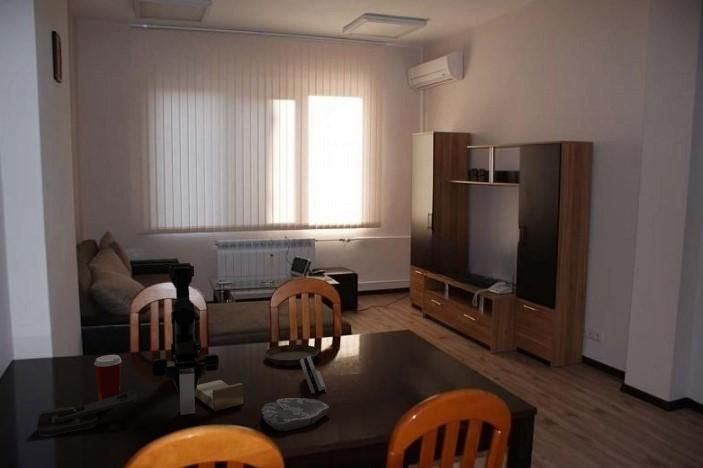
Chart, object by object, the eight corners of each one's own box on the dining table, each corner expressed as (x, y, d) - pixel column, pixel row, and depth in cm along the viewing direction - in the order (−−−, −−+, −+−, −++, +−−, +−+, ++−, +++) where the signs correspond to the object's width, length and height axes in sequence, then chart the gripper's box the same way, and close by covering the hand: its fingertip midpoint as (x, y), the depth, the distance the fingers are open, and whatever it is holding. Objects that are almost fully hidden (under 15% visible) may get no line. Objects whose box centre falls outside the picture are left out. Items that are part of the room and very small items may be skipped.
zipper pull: (137, 399, 160) (35, 414, 150) (138, 422, 161) (36, 438, 150) (135, 389, 168) (37, 402, 158) (135, 411, 169) (38, 425, 159)
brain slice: (297, 402, 176) (297, 392, 176) (337, 417, 164) (337, 407, 164) (244, 421, 162) (244, 410, 162) (283, 439, 150) (283, 428, 150)
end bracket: (180, 411, 168) (179, 369, 167) (194, 409, 170) (193, 367, 169) (180, 417, 164) (179, 374, 163) (195, 415, 165) (194, 373, 164)
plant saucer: (253, 360, 218) (253, 352, 217) (292, 348, 233) (292, 340, 233) (291, 372, 204) (291, 363, 204) (330, 358, 220) (330, 350, 220)
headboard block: (193, 395, 181) (193, 376, 181) (220, 388, 187) (220, 370, 186) (215, 410, 169) (214, 390, 168) (243, 403, 174) (242, 384, 174)
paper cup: (128, 400, 177) (127, 355, 176) (110, 409, 170) (109, 363, 168) (108, 397, 179) (106, 353, 178) (89, 406, 172) (87, 360, 171)
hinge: (327, 392, 183) (316, 364, 182) (313, 398, 183) (302, 370, 181) (321, 375, 200) (311, 349, 198) (308, 380, 199) (298, 354, 198)
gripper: (151, 332, 167) (151, 382, 157) (217, 327, 172) (221, 375, 163) (153, 351, 175) (153, 400, 165) (216, 346, 180) (219, 393, 171)
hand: (187, 391), depth 166 cm, fingers closed on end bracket, 4 cm apart
